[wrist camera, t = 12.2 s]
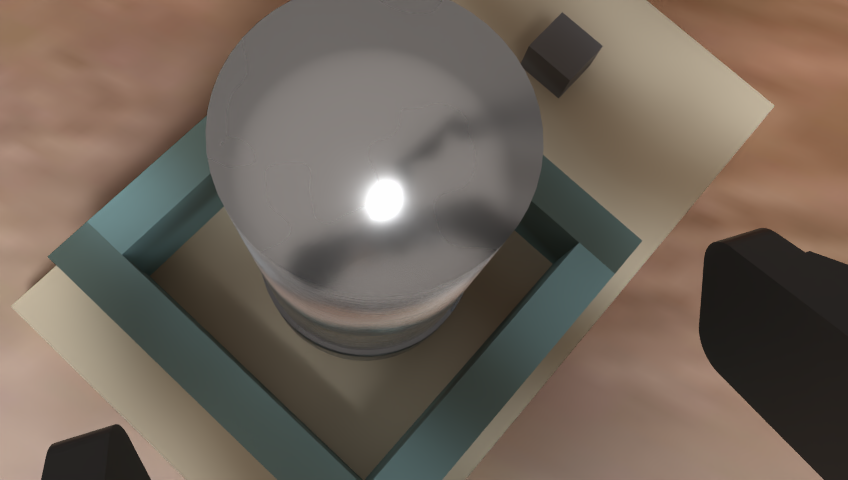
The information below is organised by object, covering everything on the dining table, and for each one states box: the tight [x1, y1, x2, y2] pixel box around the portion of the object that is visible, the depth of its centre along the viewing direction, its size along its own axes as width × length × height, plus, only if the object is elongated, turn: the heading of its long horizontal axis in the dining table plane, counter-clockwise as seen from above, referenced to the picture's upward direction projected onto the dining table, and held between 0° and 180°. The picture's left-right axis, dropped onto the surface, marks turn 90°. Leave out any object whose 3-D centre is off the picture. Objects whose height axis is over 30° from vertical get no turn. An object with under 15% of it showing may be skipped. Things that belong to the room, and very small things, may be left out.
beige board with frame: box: [11, 0, 774, 480], centre depth 21 cm, size 20×12×4 cm, turn 138°
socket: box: [205, 0, 544, 361], centre depth 15 cm, size 5×5×10 cm
